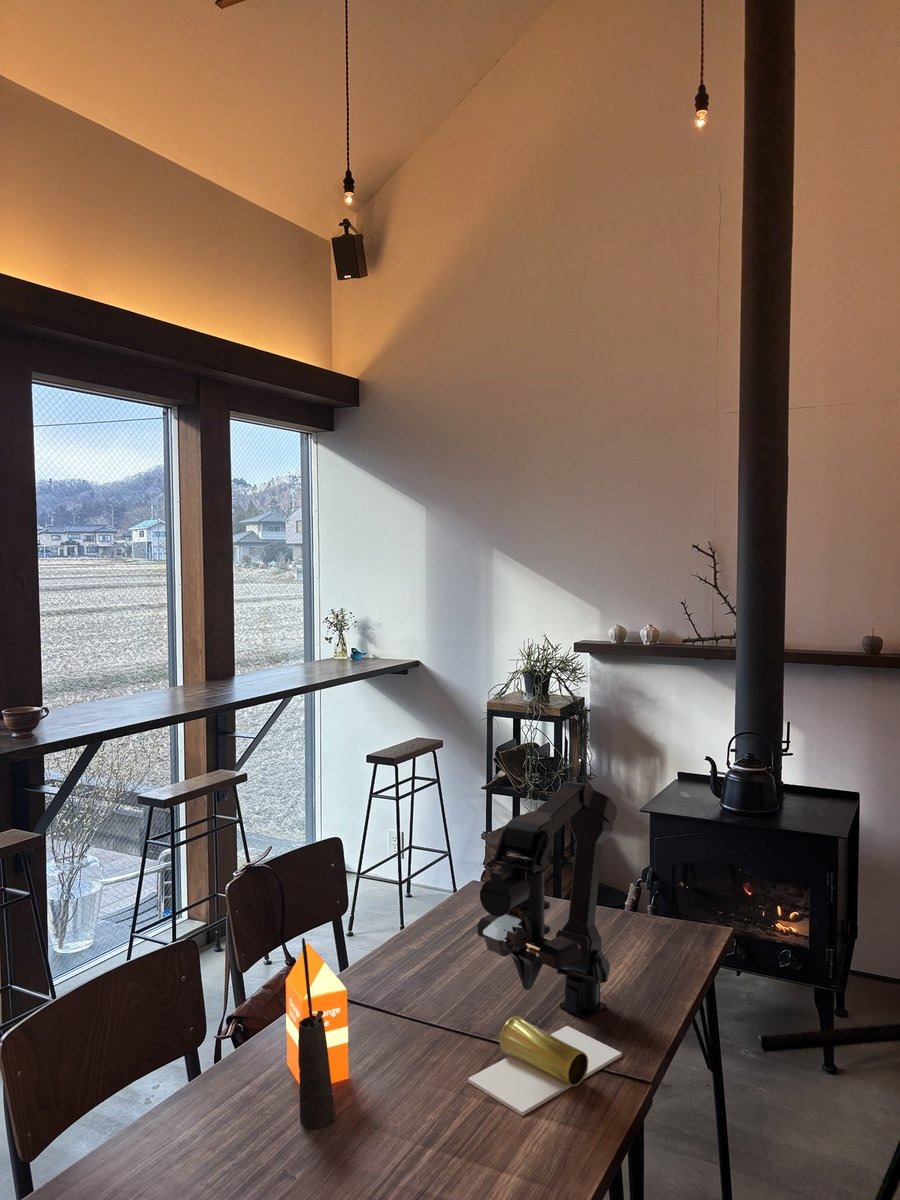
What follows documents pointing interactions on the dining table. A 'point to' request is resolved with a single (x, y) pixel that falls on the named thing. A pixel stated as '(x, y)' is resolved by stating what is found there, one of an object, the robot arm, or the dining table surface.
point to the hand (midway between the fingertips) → (527, 989)
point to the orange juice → (325, 998)
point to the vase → (543, 1051)
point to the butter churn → (314, 1066)
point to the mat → (538, 1074)
